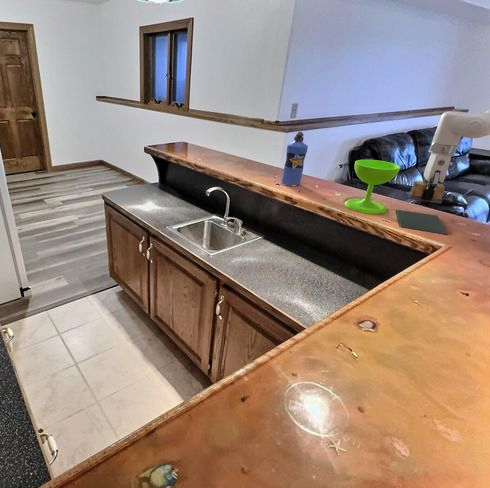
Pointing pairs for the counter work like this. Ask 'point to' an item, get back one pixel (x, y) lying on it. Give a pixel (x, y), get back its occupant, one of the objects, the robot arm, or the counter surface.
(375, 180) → the wineglass
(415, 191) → the eraser
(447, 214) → the counter surface
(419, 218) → the chalkboard
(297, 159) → the water bottle
